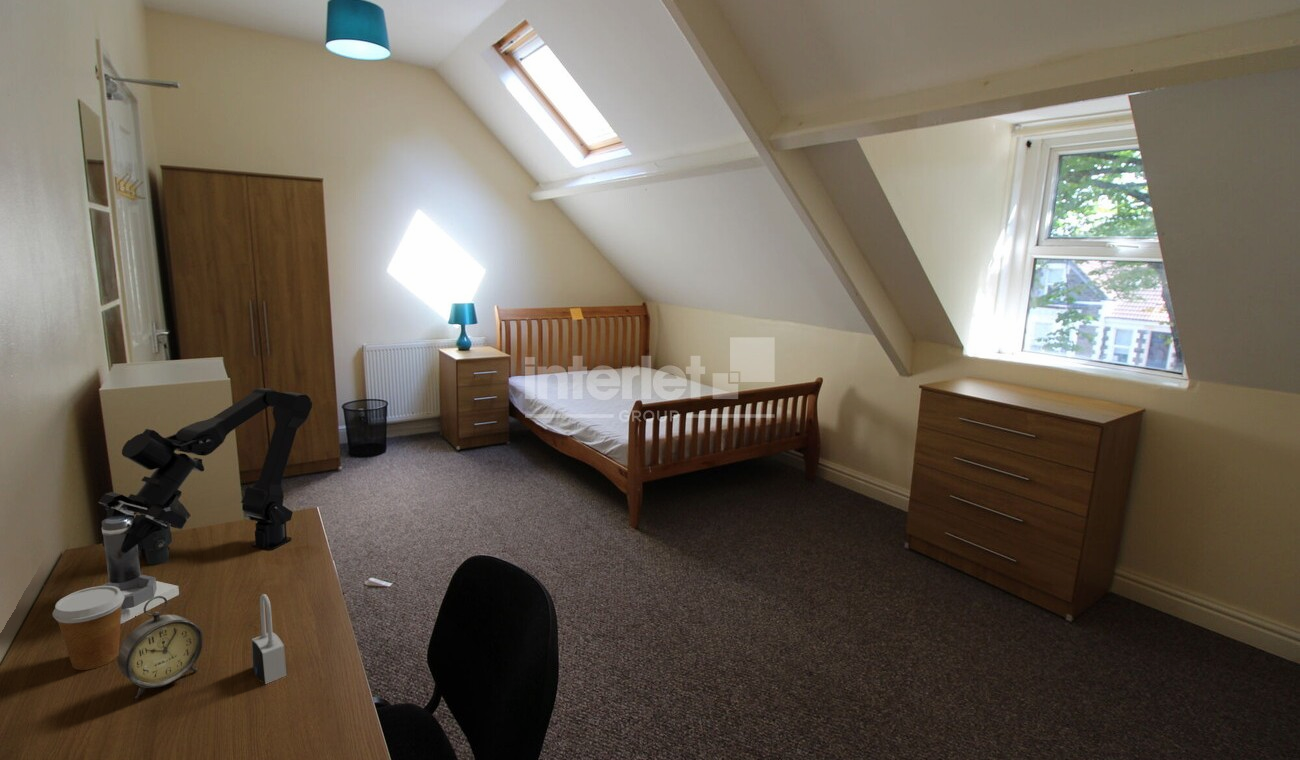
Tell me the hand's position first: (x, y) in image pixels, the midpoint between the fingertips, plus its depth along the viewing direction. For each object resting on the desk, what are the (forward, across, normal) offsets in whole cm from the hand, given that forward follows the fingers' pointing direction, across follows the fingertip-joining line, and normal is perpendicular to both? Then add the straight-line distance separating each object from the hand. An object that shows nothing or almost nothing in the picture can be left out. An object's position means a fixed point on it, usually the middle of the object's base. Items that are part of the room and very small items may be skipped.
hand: (113, 549), depth 125 cm
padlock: (+11, -43, -8) cm, 45 cm away
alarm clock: (+18, -30, -1) cm, 35 cm away
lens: (+4, 0, -6) cm, 7 cm away
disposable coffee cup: (+18, -13, -1) cm, 22 cm away
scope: (-2, +16, -22) cm, 27 cm away
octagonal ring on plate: (+9, 0, -10) cm, 13 cm away
